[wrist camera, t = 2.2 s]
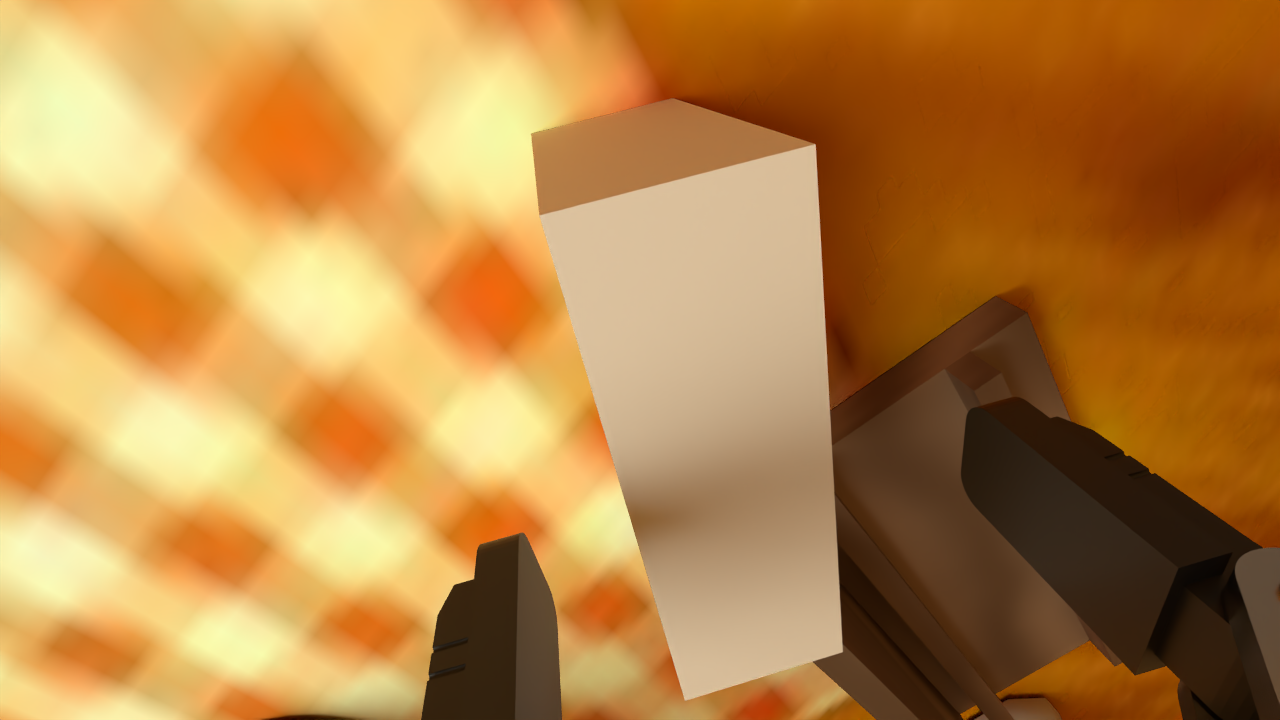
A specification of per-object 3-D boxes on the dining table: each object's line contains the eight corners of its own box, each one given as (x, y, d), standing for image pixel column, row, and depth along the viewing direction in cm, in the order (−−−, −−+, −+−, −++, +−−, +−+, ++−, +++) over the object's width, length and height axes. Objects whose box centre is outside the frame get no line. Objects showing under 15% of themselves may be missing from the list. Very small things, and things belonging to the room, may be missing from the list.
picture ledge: (927, 696, 33) (1026, 854, 27) (726, 483, 23) (806, 656, 16) (1120, 584, 31) (1277, 725, 25) (995, 296, 21) (1210, 407, 14)
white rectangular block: (736, 435, 22) (854, 648, 14) (626, 466, 22) (685, 700, 14) (682, 95, 16) (835, 139, 8) (531, 133, 16) (539, 215, 8)
